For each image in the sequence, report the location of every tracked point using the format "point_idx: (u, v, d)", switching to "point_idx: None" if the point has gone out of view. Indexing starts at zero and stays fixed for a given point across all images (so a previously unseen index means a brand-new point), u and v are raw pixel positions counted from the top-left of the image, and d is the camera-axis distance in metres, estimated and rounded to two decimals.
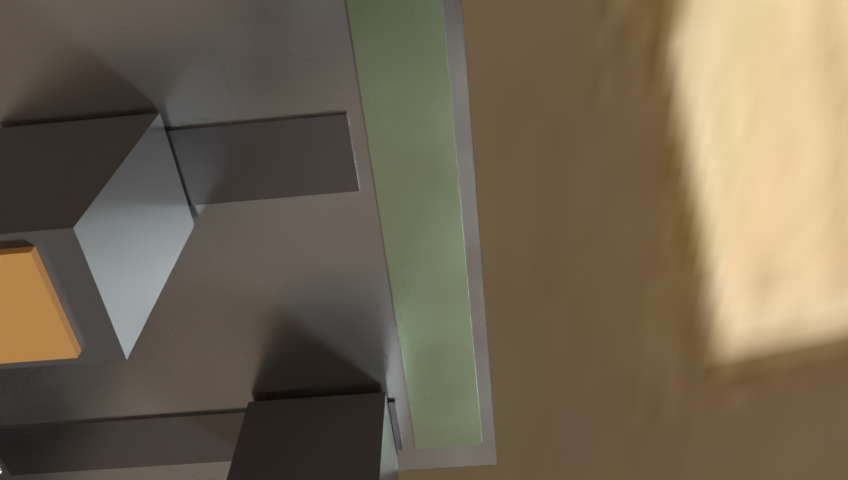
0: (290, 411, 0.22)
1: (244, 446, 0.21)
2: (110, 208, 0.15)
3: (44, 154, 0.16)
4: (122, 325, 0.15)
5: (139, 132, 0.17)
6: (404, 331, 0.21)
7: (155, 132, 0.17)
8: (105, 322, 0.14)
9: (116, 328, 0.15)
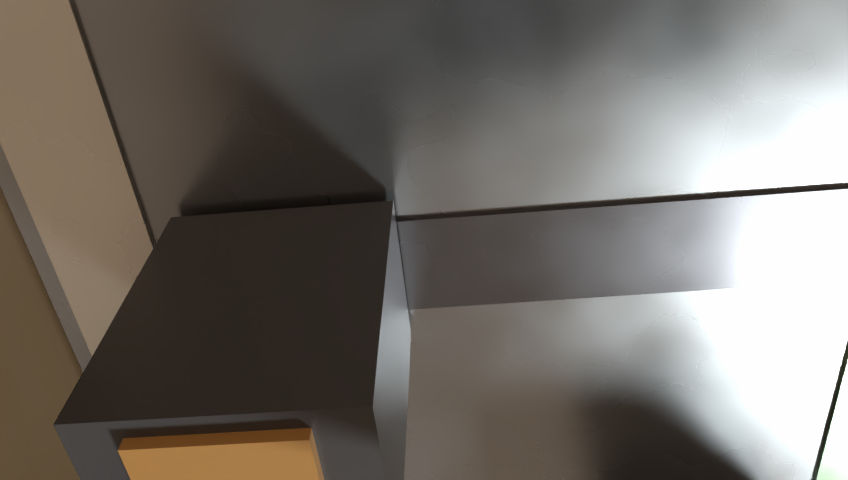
0: None
1: None
2: (383, 355, 0.11)
3: (265, 264, 0.12)
4: None
5: (381, 233, 0.13)
6: (830, 443, 0.17)
7: (392, 228, 0.13)
8: None
9: None
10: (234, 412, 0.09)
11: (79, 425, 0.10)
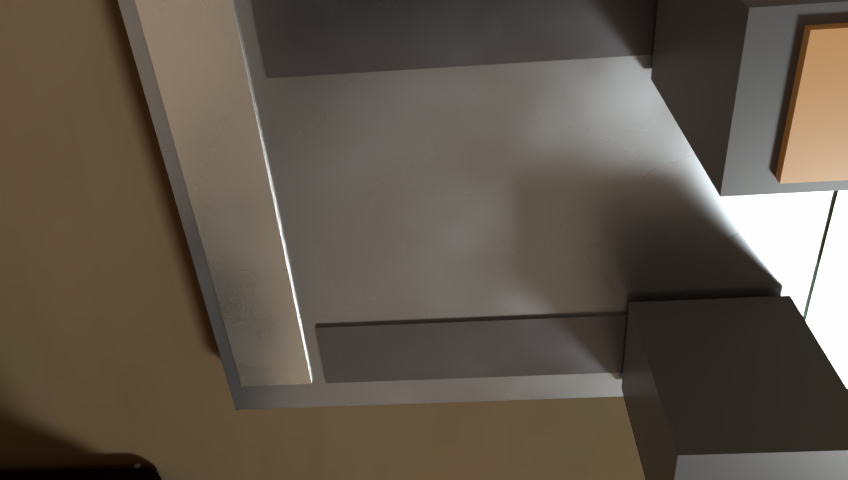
0: (687, 313, 0.19)
1: (653, 346, 0.18)
2: None
3: None
4: None
5: None
6: (835, 222, 0.18)
7: None
8: None
9: None
10: None
11: (773, 9, 0.11)
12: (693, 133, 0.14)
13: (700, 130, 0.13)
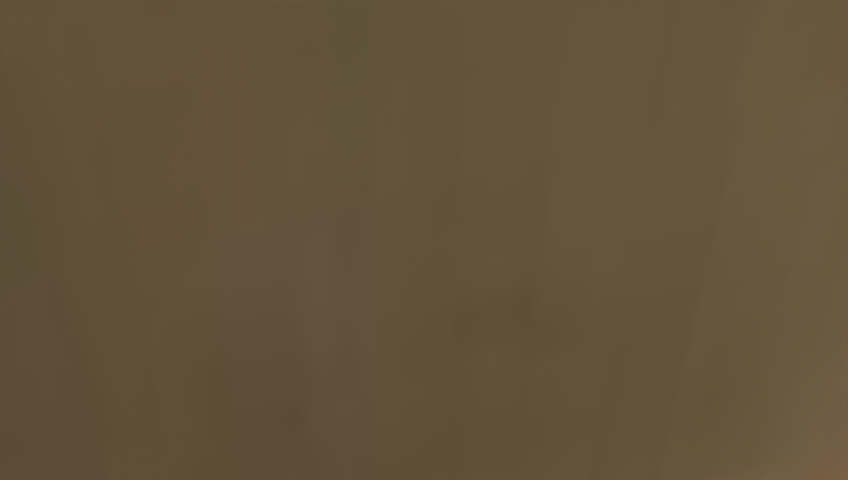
0: None
1: None
2: None
3: None
4: None
5: None
6: None
7: None
8: None
9: None
10: None
11: None
12: None
13: None
